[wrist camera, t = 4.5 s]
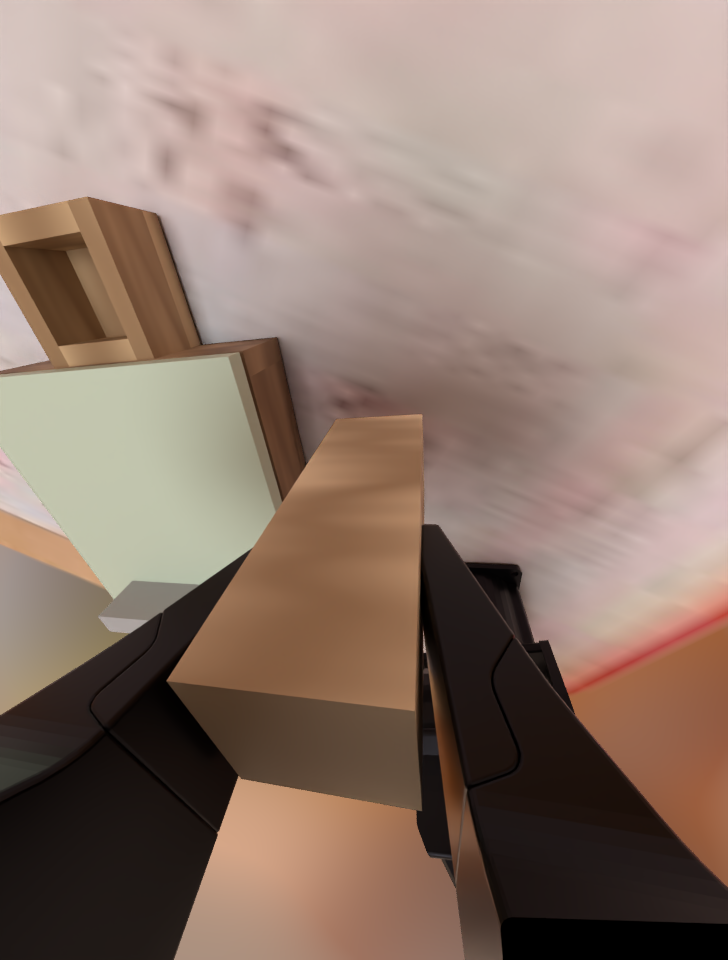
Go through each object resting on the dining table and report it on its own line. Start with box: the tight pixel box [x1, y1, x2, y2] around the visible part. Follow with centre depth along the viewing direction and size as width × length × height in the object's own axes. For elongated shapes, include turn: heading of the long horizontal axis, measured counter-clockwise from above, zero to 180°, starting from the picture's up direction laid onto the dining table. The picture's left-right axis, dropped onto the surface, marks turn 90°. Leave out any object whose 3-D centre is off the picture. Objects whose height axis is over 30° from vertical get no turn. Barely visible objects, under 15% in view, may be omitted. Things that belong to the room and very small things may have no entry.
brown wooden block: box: [167, 414, 424, 811], centre depth 8 cm, size 3×3×9 cm
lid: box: [0, 352, 282, 633], centre depth 19 cm, size 16×19×4 cm
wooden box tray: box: [0, 197, 306, 502], centre depth 22 cm, size 16×25×4 cm, turn 6°
